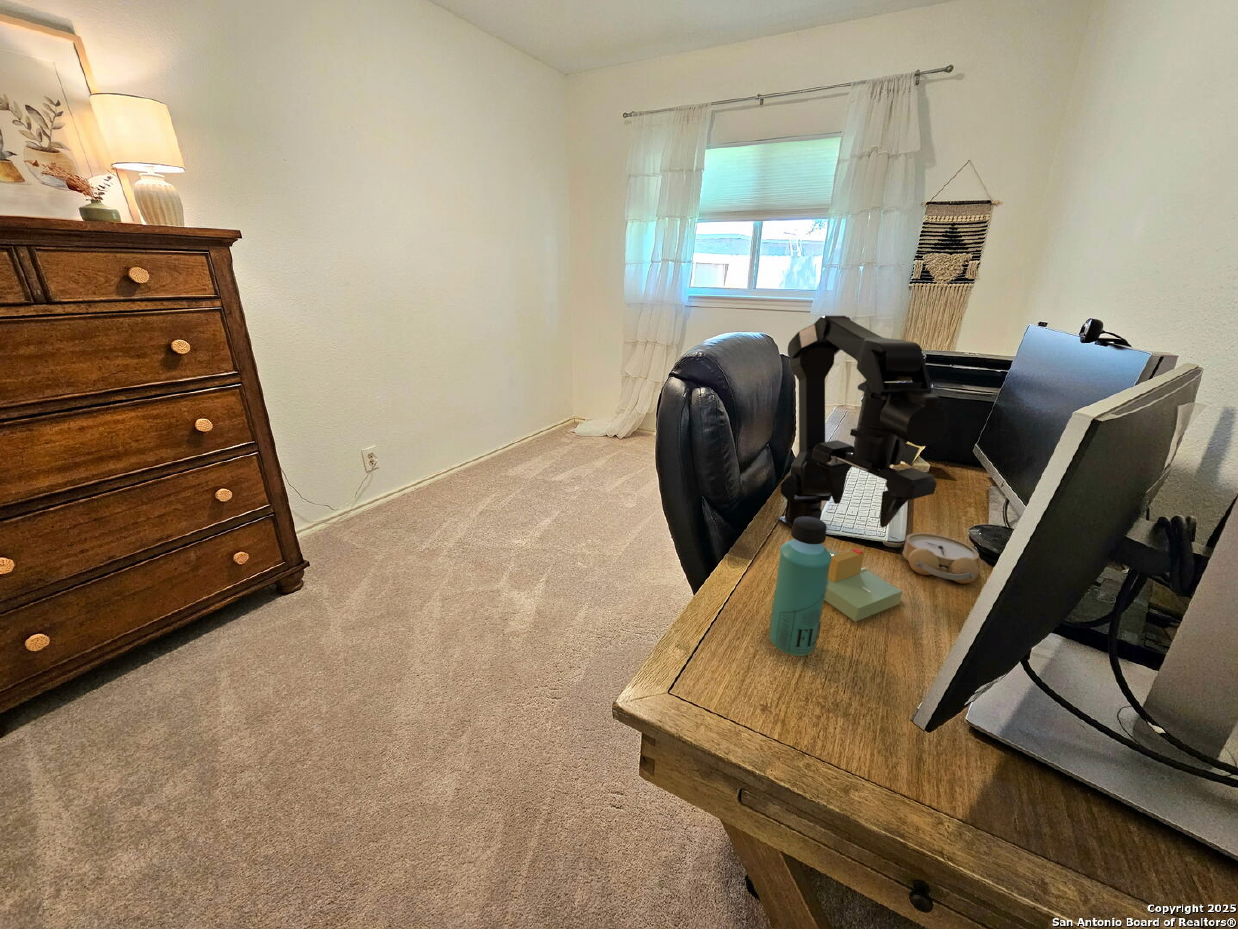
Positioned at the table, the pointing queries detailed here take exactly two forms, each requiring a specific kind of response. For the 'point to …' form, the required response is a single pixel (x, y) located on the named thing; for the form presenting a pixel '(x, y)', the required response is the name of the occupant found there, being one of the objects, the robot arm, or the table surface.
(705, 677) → the table surface
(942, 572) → the alarm clock
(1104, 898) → the table surface
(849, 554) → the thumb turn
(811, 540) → the beverage bottle
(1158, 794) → the table surface
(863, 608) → the plate
